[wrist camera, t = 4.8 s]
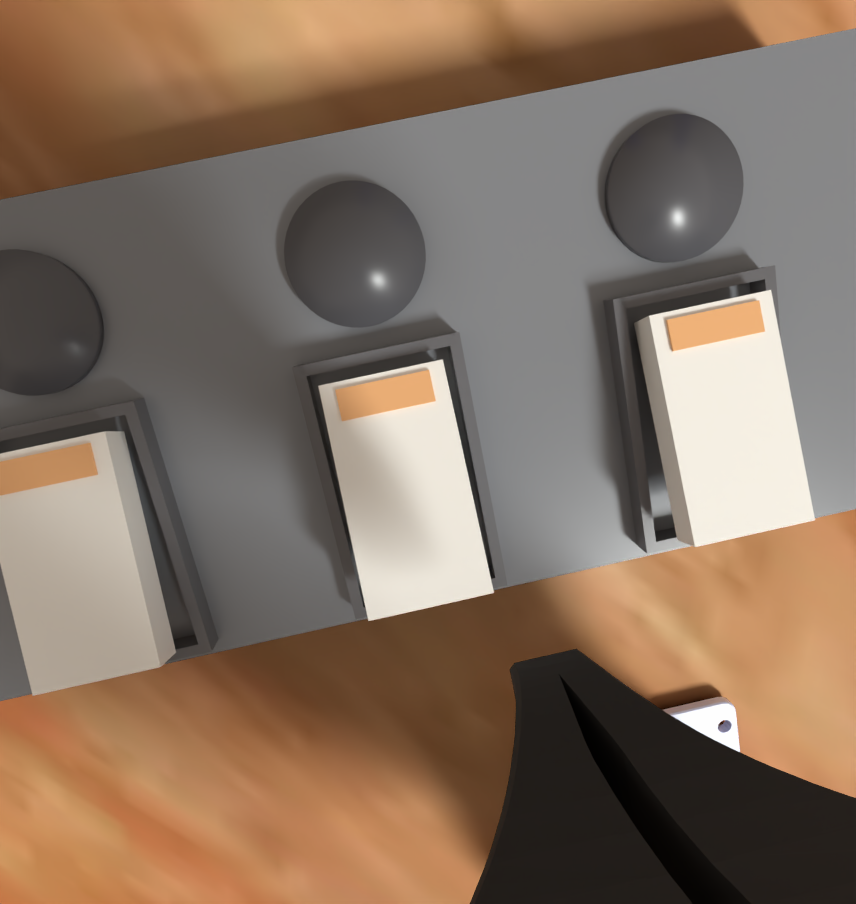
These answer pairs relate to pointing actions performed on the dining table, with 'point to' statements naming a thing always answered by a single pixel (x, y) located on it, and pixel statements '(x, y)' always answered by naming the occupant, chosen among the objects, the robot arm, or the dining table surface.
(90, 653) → the rocker
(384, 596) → the rocker middle
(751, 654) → the dining table surface
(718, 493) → the rocker
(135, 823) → the dining table surface
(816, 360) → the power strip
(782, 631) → the dining table surface
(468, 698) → the dining table surface
